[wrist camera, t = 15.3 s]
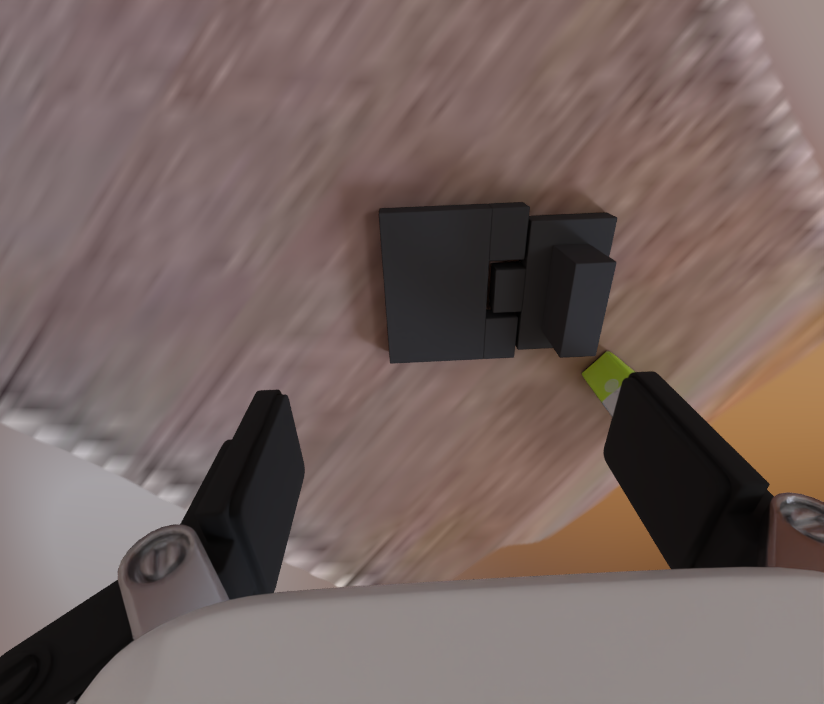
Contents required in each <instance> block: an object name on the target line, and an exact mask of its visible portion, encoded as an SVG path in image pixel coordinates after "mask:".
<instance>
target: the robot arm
mask: <svg viewBox="0 0 824 704" xmlns="http://www.w3.org/2000/svg"><path fill="white" fill-rule="evenodd" d="M604 458H605V461H606V463H607V465H608V466H609V468H610V470H611V471H612V473H613V474H614V476H615V478H616V479H617V481H618V483H619V484H620V486H621V488H622V489H623V491H624V492H625V494H626V496H627V497H628V499H629V501H630V503H631V504H632V506H633V508H634V509H635V511H636V512H637V514H638V516H639V517H640V519H641V521H642V522H643V524H644V526H645V527H646V529H647V531H648V532H649V534H650V536H651V537H652V539H653V541H654V542H655V544H656V545H657V547H658V549H659V550H660V552H661V554H662V555H663V557H664V559H665V560H666V562H667V564H668V565H669V566H670V568H671V569H669V570H648V571H628V572H606V573H586V574H565V575H547V576H529V577H509V578H491V579H473V580H454V581H437V582H420V583H403V584H386V585H369V586H352V587H339V588H327V589H313V590H300V591H287V592H277V593H274V590H275V588H276V584H277V580H278V576H279V572H280V569H281V565H282V561H283V557H284V553H285V549H286V545H287V541H288V537H289V534H290V530H291V526H292V522H293V518H294V514H295V510H296V506H297V502H298V499H299V495H300V491H301V487H302V483H303V479H304V473H305V467H304V461H303V457H302V453H301V449H300V444H299V440H298V436H297V432H296V427H295V423H294V419H293V415H292V411H291V406H290V402H289V398H288V396H287V395H282V394H281V392H280V390H261V391H257V392H256V394H255V396H254V398H253V400H252V401H251V403H250V405H249V407H248V409H247V411H246V413H245V415H244V417H243V419H242V421H241V423H240V425H239V427H238V429H237V431H236V433H235V435H234V437H233V439H232V440H227V441H225V442H224V444H223V445H222V447H221V449H220V450H219V452H218V454H217V456H216V458H215V460H214V462H213V464H212V466H211V467H210V469H209V471H208V473H207V475H206V477H205V479H204V481H203V482H202V484H201V486H200V488H199V490H198V492H197V494H196V496H195V498H194V499H193V501H192V503H191V505H190V507H189V509H188V511H187V513H186V515H185V516H184V518H183V520H182V522H181V524H180V525H169V526H165V527H161V528H159V529H157V530H155V531H152V532H150V533H149V534H147V535H146V536H144V537H143V538H142V539H140V540H139V541H137V542H136V543H135V544H134V545H133V546H132V547H131V548H130V549H129V550H128V552H127V553H126V555H125V556H124V557H123V559H122V561H121V563H120V566H119V568H118V580H117V581H115V582H114V583H112V584H110V585H109V586H108V587H106V588H104V589H103V590H101V591H100V592H98V593H97V594H95V595H94V596H92V597H90V598H89V599H87V600H86V601H84V602H83V603H81V604H80V605H78V606H77V607H75V608H74V609H72V610H71V611H69V612H67V613H66V614H64V615H63V616H61V617H60V618H58V619H57V620H55V621H54V622H52V623H51V624H49V625H47V626H46V627H44V628H43V629H41V630H40V631H38V632H37V633H35V634H34V635H32V636H31V637H29V638H27V639H26V640H24V641H23V642H21V643H20V644H18V645H17V646H15V647H14V648H12V649H11V650H9V651H8V652H6V653H5V654H4V655H2V656H1V657H0V704H824V502H822V501H820V500H817V499H815V498H812V497H809V496H805V495H802V494H796V493H781V494H778V495H776V496H775V497H774V496H773V495H772V494H771V493H770V492H769V491H768V490H767V488H768V486H769V483H768V482H767V481H766V480H765V479H764V478H763V477H762V476H761V475H760V474H759V473H758V472H757V471H756V470H755V469H754V468H753V467H752V466H751V465H750V464H749V463H748V462H747V461H746V460H745V459H744V458H743V457H742V456H741V455H740V454H739V453H737V451H736V450H735V449H734V448H733V447H732V446H731V445H729V443H727V442H726V441H725V440H724V439H723V438H722V437H721V436H720V435H719V434H718V433H717V432H716V431H715V430H714V429H713V428H712V427H711V426H710V425H709V424H708V423H707V422H706V421H705V420H704V419H703V418H702V417H701V416H700V415H699V414H698V413H697V412H696V411H695V410H694V409H693V408H692V407H691V406H690V405H689V404H688V403H687V402H686V401H685V400H684V399H683V398H682V397H681V396H680V395H679V394H678V393H677V392H676V391H675V390H674V389H673V388H672V387H671V386H670V385H669V384H668V383H667V382H666V381H665V380H664V379H663V378H662V377H660V376H659V375H658V374H657V373H656V372H652V371H651V372H633V373H631V374H630V375H629V376H628V378H625V379H624V380H623V381H622V384H621V388H620V392H619V395H618V399H617V403H616V406H615V410H614V414H613V417H612V421H611V424H610V428H609V432H608V435H607V439H606V443H605V446H604Z"/></svg>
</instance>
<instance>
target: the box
mask: <svg viewBox="0 0 824 704" xmlns="http://www.w3.org/2000/svg"><path fill="white" fill-rule="evenodd" d="M633 372H635V371H633V370H632V369H631V368H630V367H629V366H627V365H626V364H625V363H624V362H623V361H622V360H620V359H619V358H618V357H617V356H615V355H614V354H612V353H610V352H609V351H606V352H605V353H604V354H603V355H602V356H601V357H600V358H599V359H597V360H596V361H595V362H594V363H593V364H592V365H591V366H590V367H588V368H587V369H586V370H585V371H584V372H583V373H582V376H583V377H584V379H585V380H586V382H587V383H588V384H589V386H590V387H591V389H592V390H593V391H594V393H595V394H596V395H597V397H598V398H599V400H600V401H601V402H602V404H603V405H604V406H605V408H606V409H607V410H608V412H609V413H610V415H611V416H612V417H613V414H614V410H615V406H616V403H617V399H618V395H619V392H620V388H621V384H622V381H623V380H624V379H625V378H628V376H629V375H630V374H631V373H633Z"/></svg>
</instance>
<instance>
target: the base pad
mask: <svg viewBox="0 0 824 704" xmlns="http://www.w3.org/2000/svg"><path fill="white" fill-rule="evenodd" d="M529 210H530V207H529V206H528V205H526V204H525V203H523V202H514V203H492V204H469V205H446V206H424V207H401V208H380V210H379V223H380V236H381V249H382V263H383V276H384V289H385V303H386V316H387V329H388V343H389V356H390V363H410V362H431V361H452V360H472V359H492V358H513V357H514V351H515V342H516V333H517V323H518V317H517V315H516V313H515V312H499V313H493V311H492V310H486V302H487V286H488V269H489V261H500V260H521V259H524V257H525V248H526V238H527V229H528V220H529Z"/></svg>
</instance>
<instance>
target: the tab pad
mask: <svg viewBox="0 0 824 704" xmlns="http://www.w3.org/2000/svg"><path fill="white" fill-rule="evenodd" d="M616 222H617V217H615V216H613V215H611V214H609V213H584V214H562V215H540V216H529V220H528V229H527V238H526V248H525V257H524V259H521V263H520V262H514V263H493V264H492V266H491V282H490V297H489V305H490V307H491V309H492V311H493V313H499V312H516V315H517V317H518V323H517V333H516V342H515V345H516V347H517V349H518V350H520V349H541V348H554V350H555V351H556V353H557V354H558V355H559V357H560V358H562V357H583V356H596V352H597V347H598V343H599V338H600V334H601V329H602V325H603V320H604V316H605V311H606V307H607V302H608V298H609V293H610V289H611V284H612V280H613V275H614V271H615V266H616V261H614V260H613V259H611V258H610V257H609V255H610V250H611V245H612V241H613V236H614V231H615V227H616Z"/></svg>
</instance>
